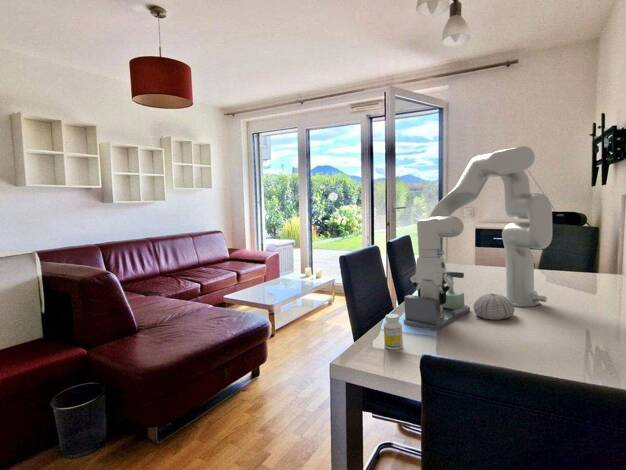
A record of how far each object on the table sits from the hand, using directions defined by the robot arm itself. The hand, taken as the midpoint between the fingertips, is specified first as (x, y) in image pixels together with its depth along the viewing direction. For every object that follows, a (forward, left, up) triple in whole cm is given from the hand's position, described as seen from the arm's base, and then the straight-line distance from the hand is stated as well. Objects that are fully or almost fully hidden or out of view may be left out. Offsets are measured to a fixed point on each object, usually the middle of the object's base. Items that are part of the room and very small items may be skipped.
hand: (432, 301), depth 131 cm
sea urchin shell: (-15, -16, -7) cm, 23 cm away
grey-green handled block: (0, -13, -5) cm, 13 cm away
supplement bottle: (-3, +28, -7) cm, 29 cm away
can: (0, 0, -4) cm, 4 cm away
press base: (0, -4, -7) cm, 8 cm away
